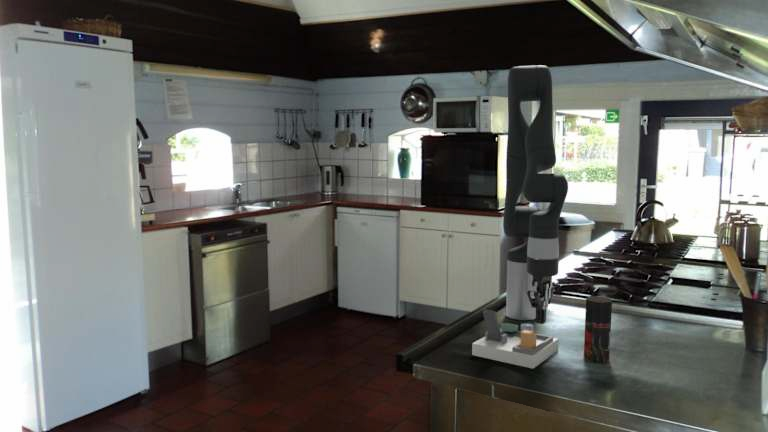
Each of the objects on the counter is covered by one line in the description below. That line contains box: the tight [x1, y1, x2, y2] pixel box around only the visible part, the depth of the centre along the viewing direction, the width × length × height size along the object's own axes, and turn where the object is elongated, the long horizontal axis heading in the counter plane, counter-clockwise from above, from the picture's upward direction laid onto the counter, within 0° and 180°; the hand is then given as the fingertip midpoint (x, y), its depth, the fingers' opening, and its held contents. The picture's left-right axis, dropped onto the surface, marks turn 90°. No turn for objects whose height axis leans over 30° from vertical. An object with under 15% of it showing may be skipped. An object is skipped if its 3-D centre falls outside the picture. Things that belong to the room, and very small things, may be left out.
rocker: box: [500, 322, 519, 332], centre depth 166 cm, size 4×3×2 cm
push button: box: [519, 322, 534, 334], centre depth 164 cm, size 3×3×2 cm
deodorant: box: [583, 295, 613, 365], centre depth 154 cm, size 6×6×15 cm
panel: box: [471, 327, 559, 370], centre depth 160 cm, size 16×16×5 cm
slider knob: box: [520, 330, 538, 350], centre depth 153 cm, size 2×3×4 cm
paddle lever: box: [482, 308, 501, 342], centre depth 157 cm, size 1×3×9 cm, turn 54°
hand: (540, 322), depth 159 cm, fingers closed
